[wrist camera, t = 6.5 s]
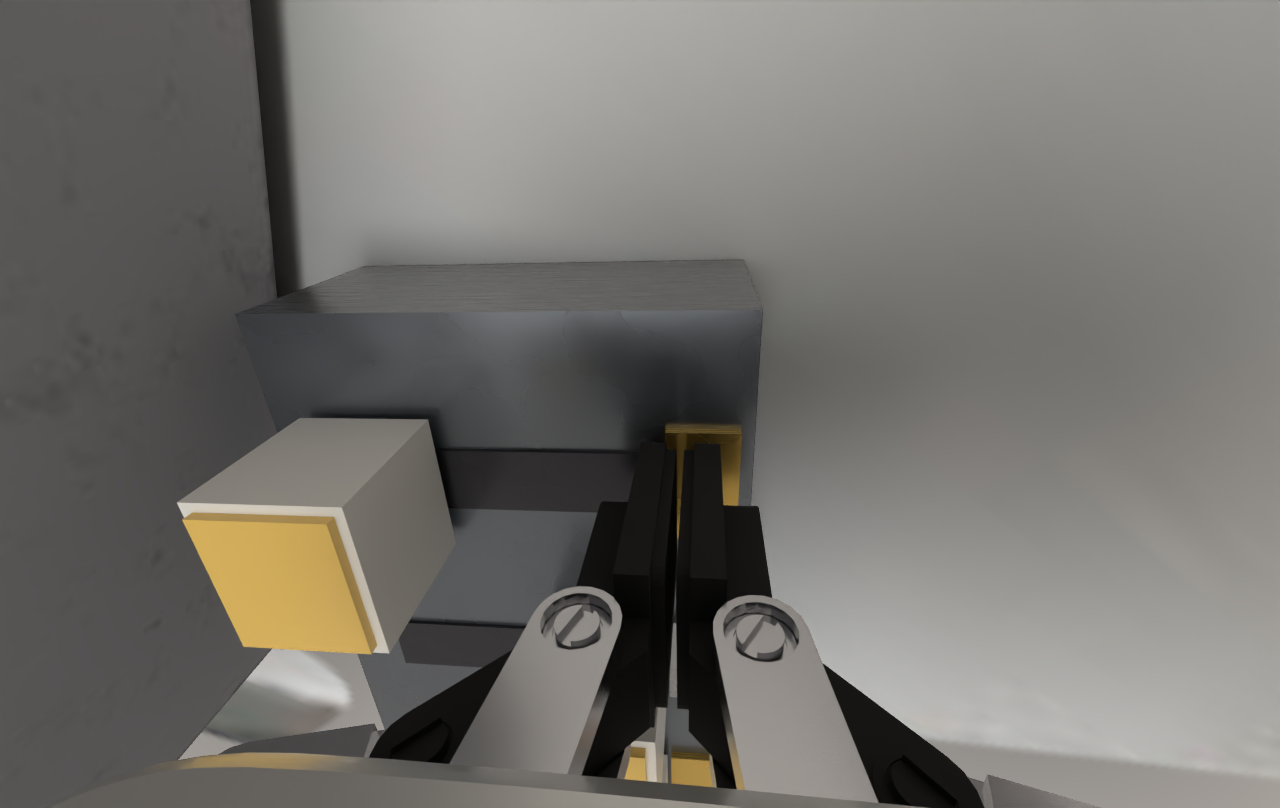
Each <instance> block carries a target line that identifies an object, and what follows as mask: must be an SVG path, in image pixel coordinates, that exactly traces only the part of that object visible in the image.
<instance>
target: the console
mask: <svg viewBox="0 0 1280 808" xmlns="http://www.w3.org/2000/svg"><path fill="white" fill-rule="evenodd" d="M762 314H763V309H762V306H761V304H760V301H759V299H758V296H757V293H756V291H755V288H754V286H753V283H752V280H751V278H750V275H749V273H748V270H747V268H746V265H745V262H744V260H693V261H637V262H581V263H525V264H469V265H414V266H364V267H361V268H358V269H356V270H353V271H350V272H348V273H345V274H342V275H339V276H337V277H334V278H331V279H329V280H326V281H323V282H320V283H318V284H315V285H312V286H310V287H307V288H304V289H301V290H299V291H296V292H293V293H291V294H288V295H285V296H282V297H280V298H277V299H274V300H272V301H269V302H266V303H263V304H261V305H258V306H255V307H253V308H250V309H247V310H244V311H242V312H239V313H236V314H235V317H236V319H237V322H238V325H239V328H240V331H241V333H242V336H243V339H244V342H245V344H246V347H247V350H248V353H249V355H250V358H251V361H252V364H253V366H254V369H255V372H256V375H257V377H258V380H259V383H260V386H261V389H262V391H263V394H264V397H265V400H266V402H267V405H268V408H269V411H270V413H271V416H272V419H273V422H274V424H275V427H276V430H277V433H278V432H280V431H281V430H283V429H284V428H286V427H287V426H289V425H290V424H292V423H293V422H294V421H296V420H297V419H299V418H349V419H428V421H429V426H430V430H431V435H432V439H433V444H434V448H435V452H436V457H437V461H438V466H439V470H440V475H441V479H442V483H443V488H444V492H445V497H446V501H447V506H448V510H449V514H450V519H451V523H452V528H453V532H454V537H455V541H456V545H455V546H454V548H453V550H452V551H451V553H450V555H449V556H448V558H447V559H446V561H445V563H444V564H443V566H442V568H441V569H440V571H439V573H438V574H437V576H436V578H435V579H434V581H433V583H432V584H431V586H430V588H429V589H428V591H427V593H426V594H425V596H424V597H423V599H422V601H421V602H420V604H419V606H418V607H417V609H416V611H415V612H414V614H413V616H412V617H411V619H410V621H409V622H408V624H407V626H406V627H405V629H404V631H403V632H402V634H401V635H400V637H399V639H398V640H397V642H396V644H395V645H394V647H393V649H392V650H391V652H390V653H372V654H358V653H357V654H358V656H359V659H360V662H361V665H362V668H363V670H364V673H365V676H366V679H367V681H368V684H369V687H370V689H371V692H372V695H373V698H374V701H375V703H376V706H377V709H378V712H379V714H380V717H381V720H382V723H383V725H384V728H385V730H386V729H388V727H389V726H390V725H391V724H392V723H394V722H395V721H396V720H398V719H399V718H400V717H402V716H403V715H404V714H406V713H407V712H409V711H411V710H412V709H414V708H416V707H417V706H419V705H421V704H422V703H424V702H426V701H427V700H429V699H431V698H432V697H434V696H436V695H437V694H439V693H441V692H442V691H444V690H446V689H447V688H449V687H451V686H453V685H454V684H456V683H458V682H459V681H461V680H463V679H464V678H466V677H468V676H469V675H471V674H473V673H474V672H476V671H478V670H479V669H481V668H483V667H484V666H486V665H488V664H489V663H491V662H493V661H494V660H496V659H498V658H499V657H501V656H503V655H504V654H506V653H508V652H509V651H511V650H513V649H514V647H515V645H516V644H517V642H518V640H519V638H520V636H521V635H522V633H523V631H524V629H525V628H526V626H527V624H528V622H529V620H530V619H531V617H532V615H533V613H534V612H535V610H536V609H537V608H538V606H539V605H540V604H541V603H542V602H543V601H544V600H545V599H547V598H548V597H549V596H551V595H552V594H554V593H556V592H559V591H561V590H563V589H566V588H572V587H576V585H577V582H578V578H579V575H580V571H581V568H582V565H583V561H584V558H585V554H586V551H587V547H588V544H589V540H590V537H591V533H592V530H593V527H594V523H595V520H596V516H597V513H598V509H599V506H600V504H601V502H602V501H613V502H628V499H629V495H630V490H631V485H632V481H633V476H634V471H635V466H636V462H637V457H638V452H639V448H640V444H641V442H660V443H667V449H674V450H676V453H677V552H678V537H679V522H680V507H681V492H682V477H683V461H684V450H694V445H695V443H708V444H720V448H721V467H722V486H723V505H733V506H751V493H752V476H753V460H754V444H755V428H756V411H757V395H758V379H759V363H760V346H761V330H762ZM664 755H667V757H668V783H672V784H683V785H694V786H705V787H712V781H711V774H710V768H709V752H708V751H707V750H706V749H705V748H704V747H703V746H702V745H701V744H700V743H699V742H698V741H697V740H696V739H695V738H694V736H693V735H692V734H691V733H690V732H689V710H687V709H677V643H676V588H675V604H674V619H673V634H672V650H671V665H670V680H669V695H668V707H667V708H666V723H665V740H664Z"/></svg>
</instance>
